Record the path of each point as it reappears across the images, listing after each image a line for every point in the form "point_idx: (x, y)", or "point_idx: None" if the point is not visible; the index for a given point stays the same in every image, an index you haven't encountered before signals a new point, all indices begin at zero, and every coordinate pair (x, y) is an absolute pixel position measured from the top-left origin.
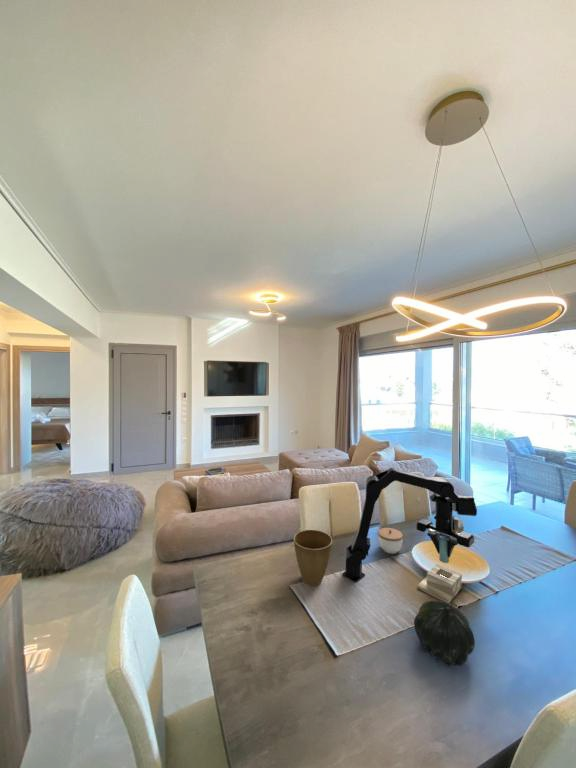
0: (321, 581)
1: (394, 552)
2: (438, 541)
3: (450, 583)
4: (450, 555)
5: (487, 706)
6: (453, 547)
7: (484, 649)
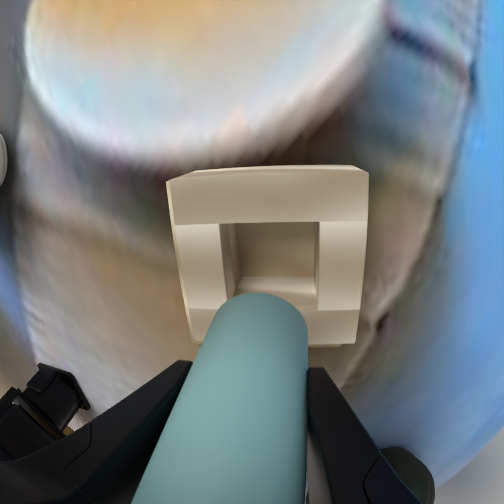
0: (72, 432)
1: (3, 171)
2: (126, 496)
3: (342, 340)
4: (329, 385)
5: (434, 474)
6: (386, 482)
7: (449, 413)
